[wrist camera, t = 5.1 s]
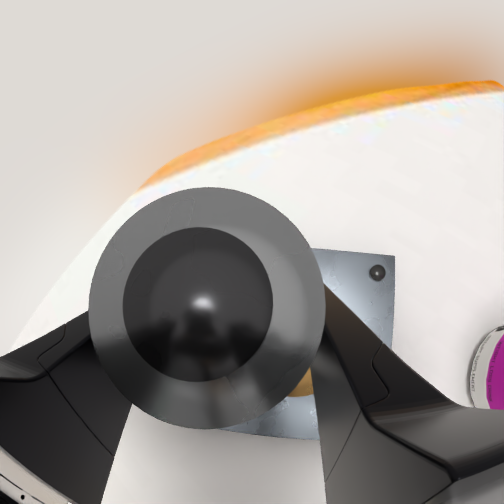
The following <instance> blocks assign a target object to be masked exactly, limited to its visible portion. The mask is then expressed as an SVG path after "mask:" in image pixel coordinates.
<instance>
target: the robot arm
mask: <svg viewBox="0 0 504 504" xmlns="http://www.w3.org/2000/svg"><path fill="white" fill-rule="evenodd" d="M323 284H324V283H323ZM324 290H325V303H326V309H325V323H324V328H323V333H322V338H321V342H320V344H319V347H318V350H317V353H316V355H315V358H314V360H313V362H312V364H311V365H310V371H311V377H312V384H313V392H314V399H315V406H316V414H317V421H318V429H319V437H320V446H321V454H322V463H323V472H324V482H325V492H326V503H327V504H504V410H497V409H481V408H470V407H465V406H461V405H459V404H457V403H455V402H453V401H451V400H450V399H449V398H447V397H446V396H445V395H444V394H442V393H441V392H440V391H439V390H437V389H436V388H435V387H434V386H432V385H431V384H430V383H429V382H428V381H426V380H425V379H424V378H423V377H421V376H420V375H419V374H418V373H416V372H415V371H414V370H413V369H412V368H411V367H409V366H408V365H407V364H406V363H405V362H404V361H402V360H401V359H400V358H399V357H398V356H397V355H396V354H395V353H394V352H393V351H392V350H391V349H390V348H389V347H388V346H387V345H386V344H385V343H383V341H382V340H381V339H380V338H379V337H378V336H377V335H376V334H375V333H374V332H373V331H372V330H371V329H370V328H369V327H368V326H367V325H366V324H365V323H364V322H363V321H362V320H361V319H360V318H359V317H358V316H357V315H356V314H355V313H354V312H353V311H352V310H351V309H350V308H349V307H348V306H347V305H346V304H345V303H344V302H343V301H342V300H341V299H340V298H339V297H338V296H336V295H335V294H334V293H333V292H332V291H331V290H330V289H329V288H328V287H327V286H326V285H325V284H324ZM131 406H132V403H131V402H130V401H129V400H128V399H127V398H126V397H125V396H124V395H123V394H122V393H121V392H120V391H119V390H118V389H117V387H116V386H115V385H114V384H113V382H112V381H111V380H110V378H109V377H108V375H107V374H106V372H105V370H104V369H103V367H102V365H101V363H100V360H99V358H98V356H97V354H96V351H95V348H94V344H93V341H92V337H91V332H90V326H89V311H86V312H85V313H83V314H81V315H79V316H78V317H76V318H74V319H72V320H71V321H69V322H67V323H66V324H63V325H62V326H60V327H58V328H57V329H55V330H53V331H51V332H49V333H48V334H46V335H44V336H42V337H40V338H38V339H36V340H34V341H32V342H30V343H28V344H26V345H24V346H22V347H20V348H18V349H16V350H14V351H12V352H10V353H8V354H6V355H4V356H2V357H0V504H68V502H70V503H72V504H101V501H102V498H103V494H104V491H105V487H106V484H107V480H108V477H109V474H110V470H111V467H112V464H113V461H114V456H115V454H116V451H117V448H118V444H119V441H120V438H121V435H122V432H123V429H124V426H125V423H126V420H127V417H128V414H129V412H130V409H131Z"/></svg>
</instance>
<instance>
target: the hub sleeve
mask: <svg viewBox="0 0 504 504" xmlns="http://www.w3.org/2000/svg"><path fill="white" fill-rule="evenodd" d="M325 309H326V303H325V290H324V284H323V280H322V275H321V271H320V268H319V266H318V263H317V260H316V258H315V255H314V253H313V252H312V250H311V248H310V246H309V244H308V242H307V241H306V239H305V238H304V237H303V235H302V234H301V232H300V231H299V230H298V228H297V227H296V226H295V225H294V224H293V223H292V222H291V221H290V220H289V219H288V218H287V217H286V216H285V215H283V214H282V213H281V212H280V211H278V210H277V209H276V208H274V207H273V206H271V205H269V204H268V203H266V202H265V201H263V200H261V199H259V198H256V197H254V196H252V195H249V194H246V193H243V192H240V191H236V190H231V189H225V188H213V187H203V188H193V189H187V190H183V191H178V192H175V193H172V194H169V195H166V196H164V197H161V198H159V199H157V200H155V201H153V202H151V203H150V204H148V205H147V206H145V207H143V208H142V209H140V210H139V211H138V212H136V213H135V214H134V215H133V216H132V217H130V218H129V219H128V220H127V221H126V222H125V223H124V224H123V225H122V226H121V227H120V228H119V229H118V231H117V232H116V233H115V235H114V236H113V237H112V239H111V240H110V241H109V243H108V244H107V246H106V248H105V250H104V251H103V253H102V255H101V257H100V260H99V262H98V264H97V266H96V269H95V273H94V276H93V279H92V283H91V289H90V294H89V309H88V311H89V326H90V332H91V337H92V341H93V344H94V348H95V351H96V354H97V356H98V358H99V360H100V363H101V365H102V367H103V369H104V370H105V372H106V374H107V375H108V377H109V378H110V380H111V381H112V382H113V384H114V385H115V386H116V387H117V389H118V390H119V391H120V392H121V393H122V394H123V395H124V396H125V397H126V398H127V399H128V400H129V401H130V402H131V403H133V404H134V405H135V406H137V407H138V408H140V409H141V410H142V411H144V412H146V413H147V414H149V415H151V416H153V417H155V418H157V419H159V420H162V421H164V422H167V423H170V424H172V425H177V426H181V427H186V428H194V429H218V428H225V427H230V426H234V425H239V424H241V423H244V422H247V421H249V420H252V419H255V418H256V417H258V416H260V415H262V414H264V413H266V412H267V411H269V410H271V409H272V408H273V407H275V406H276V405H277V404H279V403H280V402H281V401H283V400H284V399H285V398H286V397H287V396H288V395H289V394H290V393H291V392H292V391H293V390H294V389H295V388H296V386H297V385H298V384H299V382H300V381H301V380H302V378H303V377H304V376H305V374H306V373H307V371H308V369H309V367H310V365H311V364H312V362H313V360H314V358H315V355H316V353H317V350H318V347H319V344H320V342H321V338H322V333H323V328H324V323H325Z"/></svg>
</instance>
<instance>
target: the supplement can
mask: <svg viewBox="0 0 504 504" xmlns="http://www.w3.org/2000/svg"><path fill="white" fill-rule="evenodd" d="M470 389H471V397H472V399H473V402H474V405H475V407H476V408H481V409H497V410H504V326H501V327H498V328H497V329H495V330H494V331H492V332H491V333H489V334H488V336H487V337H486V338H485V340H484V341H483V342H482V344H481V345H480V347H479V349H478V352H477V354H476V356H475V359H474V361H473V366H472V371H471V376H470Z"/></svg>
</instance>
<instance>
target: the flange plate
mask: <svg viewBox="0 0 504 504" xmlns="http://www.w3.org/2000/svg"><path fill="white" fill-rule="evenodd" d="M311 250H312V252H313V253H314V255H315V258H316V260H317V263H318V266H319V268H320V271H321V275H322V280H323V283H324V284H325V285H326V286H327V287H328V288H329V289H330V290H331V291H332V292H333V293H334V294H335V295H336V296H338V297H339V298H340V299H341V300H342V301H343V302H344V303H345V304H346V305H347V306H348V307H349V308H350V309H351V310H352V311H353V312H354V313H355V314H356V315H357V316H358V317H359V318H360V319H361V320H362V321H363V322H364V323H365V324H366V325H367V326H368V327H369V328H370V329H371V330H372V331H373V332H374V333H375V334H376V335H377V336H378V337H379V338H380V339H381V340H382V341H383V343H385V344H386V345H387V346H388V347H389V348H390V349H391V347H392V335H393V319H394V295H395V256H391V255H380V254H369V253H359V252H348V251H337V250H326V249H315V248H311ZM218 429H222V430H227V431H234V432H240V433H247V434H255V435H263V436H272V437H282V438H294V439H311V440H320V437H319V429H318V421H317V414H316V406H315V399H314V392H313V384H312V377H311V371H310V367H309V369H308V371H307V373H306V374H305V376H304V377H303V378H302V380H301V381H300V382H299V384H298V385H297V386H296V388H295V389H294V390H293V391H292V392H291V393H290V394H289V395H288V396H287V397H286V398H285V399H284V400H283V401H281V402H280V403H279V404H277V405H276V406H275V407H273V408H272V409H271V410H269V411H267V412H266V413H264V414H262V415H260V416H258V417H256V418H255V419H252V420H249V421H247V422H244V423H241V424H239V425H234V426H230V427H225V428H218Z"/></svg>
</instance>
